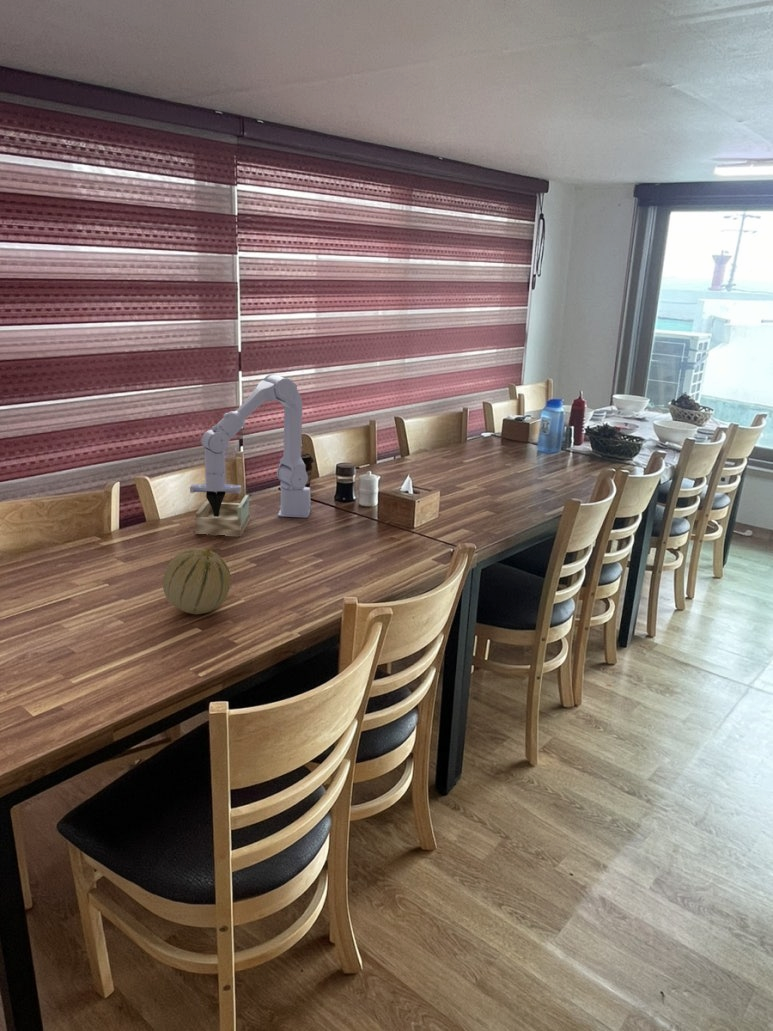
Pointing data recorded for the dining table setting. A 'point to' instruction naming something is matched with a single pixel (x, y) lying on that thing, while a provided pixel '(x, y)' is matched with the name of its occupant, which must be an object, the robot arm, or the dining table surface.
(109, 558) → the dining table surface
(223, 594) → the cantaloupe
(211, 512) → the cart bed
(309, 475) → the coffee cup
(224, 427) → the robot arm
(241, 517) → the pale green flat slab
